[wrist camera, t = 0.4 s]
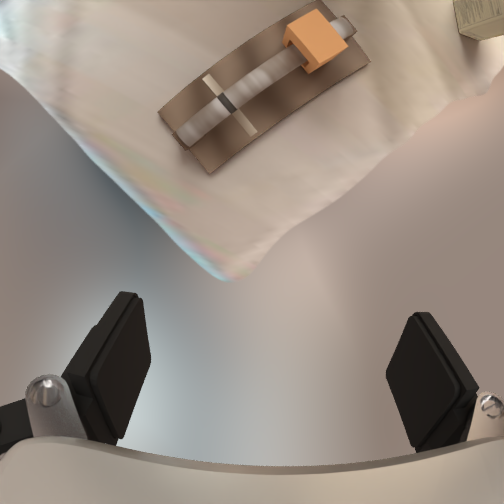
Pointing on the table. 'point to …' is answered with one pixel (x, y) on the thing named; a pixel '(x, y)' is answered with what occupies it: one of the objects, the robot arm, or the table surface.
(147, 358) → the robot arm
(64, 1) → the table surface
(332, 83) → the rail base
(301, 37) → the collar
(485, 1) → the skincare box
